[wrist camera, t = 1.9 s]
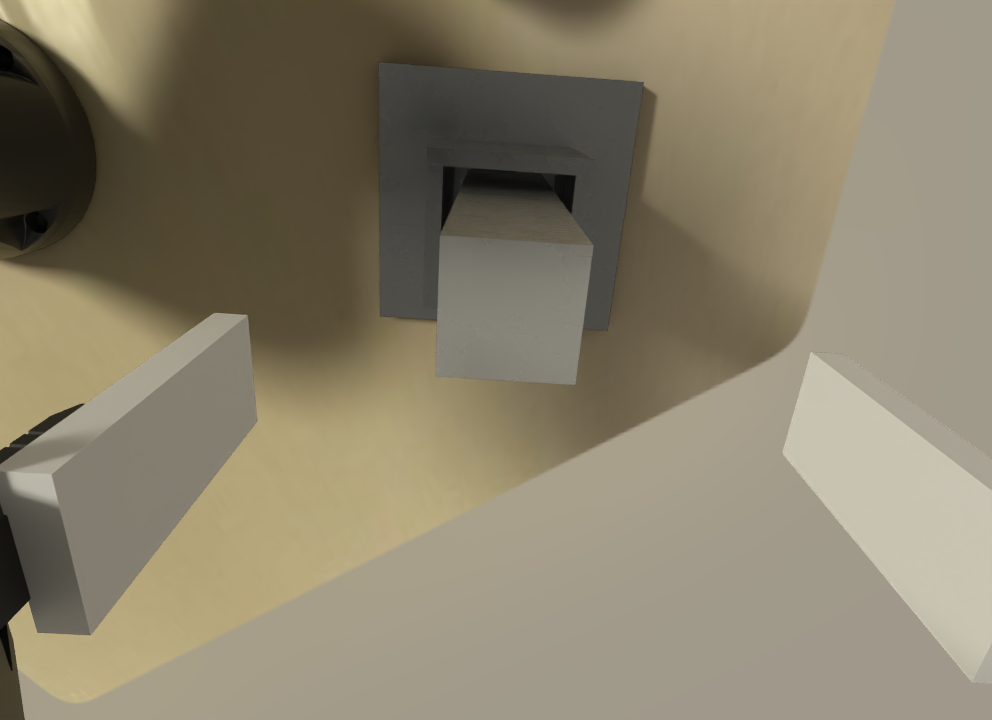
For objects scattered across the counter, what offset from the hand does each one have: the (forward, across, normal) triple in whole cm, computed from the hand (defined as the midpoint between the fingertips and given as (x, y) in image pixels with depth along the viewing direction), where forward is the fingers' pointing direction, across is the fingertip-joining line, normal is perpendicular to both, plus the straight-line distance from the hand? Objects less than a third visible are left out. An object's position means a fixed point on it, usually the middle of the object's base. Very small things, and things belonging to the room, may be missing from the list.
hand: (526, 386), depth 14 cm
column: (+27, 0, 0) cm, 27 cm away
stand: (+29, 0, 0) cm, 29 cm away
